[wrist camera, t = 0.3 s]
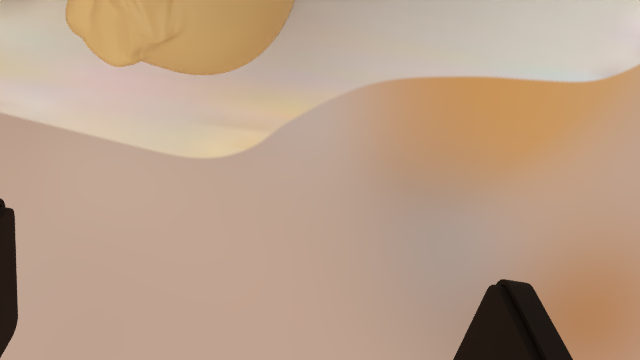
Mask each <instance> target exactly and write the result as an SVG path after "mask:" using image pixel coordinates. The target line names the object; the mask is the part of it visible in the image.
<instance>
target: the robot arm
mask: <svg viewBox="0 0 640 360" xmlns="http://www.w3.org/2000/svg"><path fill="white" fill-rule="evenodd" d="M17 308H18V306H17V276H16V245H15V216H14V211H13V209H11V208H6V207H5V204H4V201H3V200H2V199H0V357H1V355H2V354H3V352H4V350H5V349H6V347H7V345H8V343H9V341H10V340H11V338H12V336H13V334H14V331H15V328H16V325H17V319H18V309H17ZM453 360H573V359H572V357H571V355H570V354H569V352H568V350H567V348H566V346H565V345H564V343H563V341H562V339H561V337H560V335H559V334H558V332H557V330H556V328H555V327H554V325H553V323H552V321H551V319H550V317H549V316H548V314H547V312H546V310H545V308H544V307H543V305H542V303H541V301H540V299H539V298H538V296H537V294H536V292H535V290H534V289H533V287H532V286H531V285H530V284H528V283H524V282H517V281H511V280H505V279H503V280H500V281H498V282H497V284H496V285H491V286H489V288H488V289H487V291H486V293H485V295H484V297H483V299H482V301H481V304H480V306H479V308H478V310H477V312H476V314H475V316H474V318H473V320H472V322H471V324H470V326H469V328H468V330H467V332H466V334H465V337H464V339H463V341H462V343H461V345H460V347H459V349H458V351H457V353H456V355H455V357H454V359H453Z"/></svg>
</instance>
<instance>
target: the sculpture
mask: <svg viewBox="0 0 640 360" xmlns="http://www.w3.org/2000/svg"><path fill="white" fill-rule="evenodd" d="M293 3H294V0H68V2H67V6H66V21H67V24H68V26H69V27H70V29H71V30H72V31H73V32H74V33H75V34H77V35H78V36H80V37H82V38H83V40H84V42H85V44H86V45H87V46H88V47H89V48H90V50H91V51H92V52H93V53H94V54H96V55H97V56H98V57H99V58H100V59H102V60H103V61H104V62H106V63H108V64H110V65H112V66H116V67H123V66H127V65H133V64H135V63H138V62H140V61H143V62H146V63H149V64H152V65H155V66H158V67H161V68H165V69H168V70H171V71H175V72H179V73H185V74H192V75H213V74H220V73H225V72H229V71H232V70H235V69H237V68H239V67H241V66H243V65H245V64H247V63H249V62H250V61H252V60H253V59H255V58H256V57H257V56H259V55H260V54H261V53H262V52H263V51H264V50H265V49H266V48H267V47H268V46H269V45H270V44H271V43H272V42H273V40H274V39H275V38H276V36H277V35H278V34H279V32H280V31H281V29H282V27H283V26H284V24H285V22H286V20H287V18H288V16H289V14H290V11H291V9H292V6H293Z"/></svg>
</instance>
